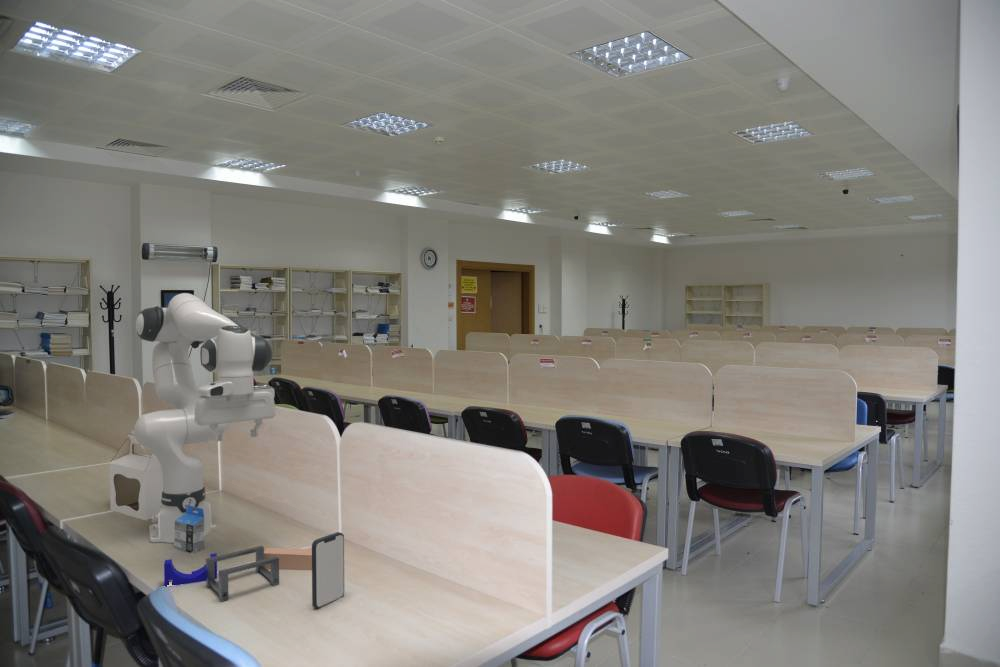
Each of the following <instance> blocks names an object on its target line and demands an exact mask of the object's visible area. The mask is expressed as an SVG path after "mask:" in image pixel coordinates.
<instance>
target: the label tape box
mask: <svg viewBox="0 0 1000 667" xmlns="http://www.w3.org/2000/svg"><path fill="white" fill-rule="evenodd" d="M185 508H186V513H185V514H183V515H182V516H181V517H180V518H178V519H177V520H175V540H174V543H173V544H174V546H173V547H174V549H175V550H180V551H183V552H186V553H190V554H195V553H198V552H200V551H202V550H205V536H204V511H203V509H202V508H198V507H194V506H189V505H185ZM192 510H195V511H197V512H198V513H195V512H192Z"/></svg>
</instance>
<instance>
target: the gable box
mask: <svg viewBox="0 0 1000 667" xmlns="http://www.w3.org/2000/svg"><path fill="white" fill-rule="evenodd" d="M127 436H128V438H127V439H126V440H125V441H124V442H123V444H122V445H121V446H120V448H119V449H118V450H117V452H116V453H115V455H114V456H113V458H112V459H111V461H110V462H109V466H108V467H109V498H110V499H109V501H110V502H109V505H110V506H109V507H110V508H109V510H110V511H114V512H116V513H120V514H123V515H127V516H129V517H133V518H135V519H139V520H143V521H149V520H151V515H157V510H158V509H159V507H160V506H161V504H162V503H161V495H162V491H163V475H162V468H161V464H160V462H159V460H158V458H157V457H156V456H155V455H154V454H153V453H152V452H151V455H148V454H147V453H146V451H145V450H144V447H143V446H142V445H141V444H139V442H138V441H137V440H136V438H135V434H134V429H133V430H131V433H127ZM135 503H138V510H136V509H134V508H133V507H131V506H130V505H132V504H135Z"/></svg>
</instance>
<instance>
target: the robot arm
mask: <svg viewBox="0 0 1000 667" xmlns="http://www.w3.org/2000/svg"><path fill="white" fill-rule="evenodd" d="M135 330H136V333H137V336H138V337H139V338H140V339H141V340H143V341H147V342H151V343H153V342H158V343H156V344H155V346H154V348H152V349H153V350H152V357H151V358H152V362H151V363H152V365H151V366H152V367H151V368H152V375H153V379H154V380H153V381H154V389H155V392H156V393H155V394H156V396H157V397H158V399H159V400H161V402H163V403H165V404H166V405H170V406H173V407H174V408H173V409H163V410H156V411H151V412H148V413H145V414H141V416H140V417H138V419H137V420H136V422H135V425H134V429H133V430H134V434H135V438H136V440H137V441H138V442H139V444H141V446H142V448H146V449H147V450H148V451H150V452H151V454H152V453H153V454H154V455H155V456H156V457H157V458H158V460H159V462H160V464H161V468H162V475H163V491H162V495H161V503H162V504H161V506H160V507H159V509H158V510H157V515H151V519H150V520H151V521H150V522H151V523H152V524H150V525H149V527H148V531H149V533H148V534H149V543H168V544H169V543H170V544H171V543H173V544H174V540H175V520H177V519H178V518H180V517H181V516H182V515H183V514H185V513H186V508H185V505H189V506H194V507H198V508H202V509H203V511H204V537H205V536H206V535H208V534H209V533H210V532H211V531H212V530H214V529H215V528H217V524H214V523H212V511H211V503H209V502H208V501H206V487H205V486H204V464H203V462H202V461H201V460H200V459H199V458H198V457H195V456H193V455H192V454H188V453H184V452H183V449H182V446H184V445H192V444H199V443H207V442H210V441H213V440H214V442H221V441H223V436H224V434H225V433H226V431H227V428H228V424H230V423H241V422H247V421H248V422H250V421H254V423H255V425H254V427H253V429H250V437H253V438H255V437H259V430H260V428H261V426H262V425H263V420H266V419H273V418H274V417H275V416H276V405H275V397H276V396H275V394H276V392H275V388H274V387H273V386H270V384H258V385H257V384H256V385H254V372H262V371H264V370H265V369H266V368H267V367H268V365H270V363H271V361H272V358H273V351H272V346H271V345H270V343H269V342H268V341H267V339H265V338H264V337H263V336H261V335H255V334H254V333H252V332H251V330H250V329H249V328H247V327H245V326H243V325H241V324H240V323H238V322H237V321H235V320H234V319H232V318H229V317H227V316H225V315H223V314H221V313H219V312H217V311H215V310H214V309H213V308H211V307H210V306H209V305H207V303H206V302H205V301H203V300H202V299H201V298H199V297H197V296H196V295H194V294H192V293H189V292H188V293H187V292H182V293H179V294H176V295H175V296H173V297H172V298H171V299H170V300H169V303H168V305H167V307H159V305H157V306H154V307H147V308H144V309H142V310H141V311H140V312H139V313H138V315H137V318H136V321H135ZM200 345H201V346H200ZM191 347H192V349H197V348H199V347H200V355H199V357H200V365H201V366H202V367H203V368H204V369H205V370H206V371H208V373H209V372H211V373H217V380H216V381H213V382H210V383H207V384H204V385H202V386H200V387H199V388H198V387H197V385H196V382H195V378H194V373H193V369H192V364H191V361H190V357H189V350H190V348H191ZM192 512H195V513H198V512H197V511H195V510H192ZM153 523H154V524H153Z"/></svg>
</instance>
